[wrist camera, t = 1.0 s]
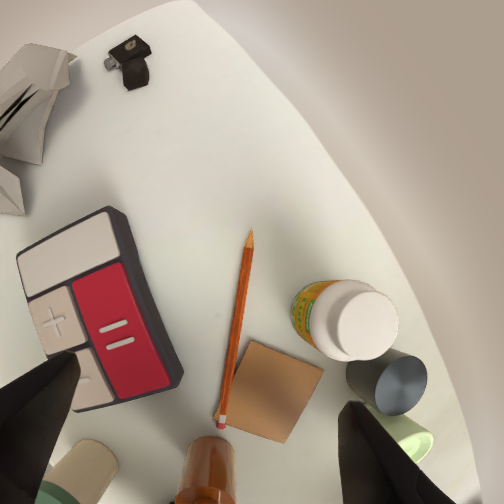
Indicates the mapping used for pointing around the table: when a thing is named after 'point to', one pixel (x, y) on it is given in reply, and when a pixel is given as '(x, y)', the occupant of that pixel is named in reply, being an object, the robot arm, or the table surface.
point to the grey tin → (389, 381)
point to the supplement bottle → (345, 319)
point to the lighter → (130, 61)
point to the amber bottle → (208, 473)
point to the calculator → (99, 310)
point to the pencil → (236, 328)
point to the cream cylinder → (79, 475)
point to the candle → (405, 433)
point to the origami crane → (27, 111)
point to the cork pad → (269, 392)
